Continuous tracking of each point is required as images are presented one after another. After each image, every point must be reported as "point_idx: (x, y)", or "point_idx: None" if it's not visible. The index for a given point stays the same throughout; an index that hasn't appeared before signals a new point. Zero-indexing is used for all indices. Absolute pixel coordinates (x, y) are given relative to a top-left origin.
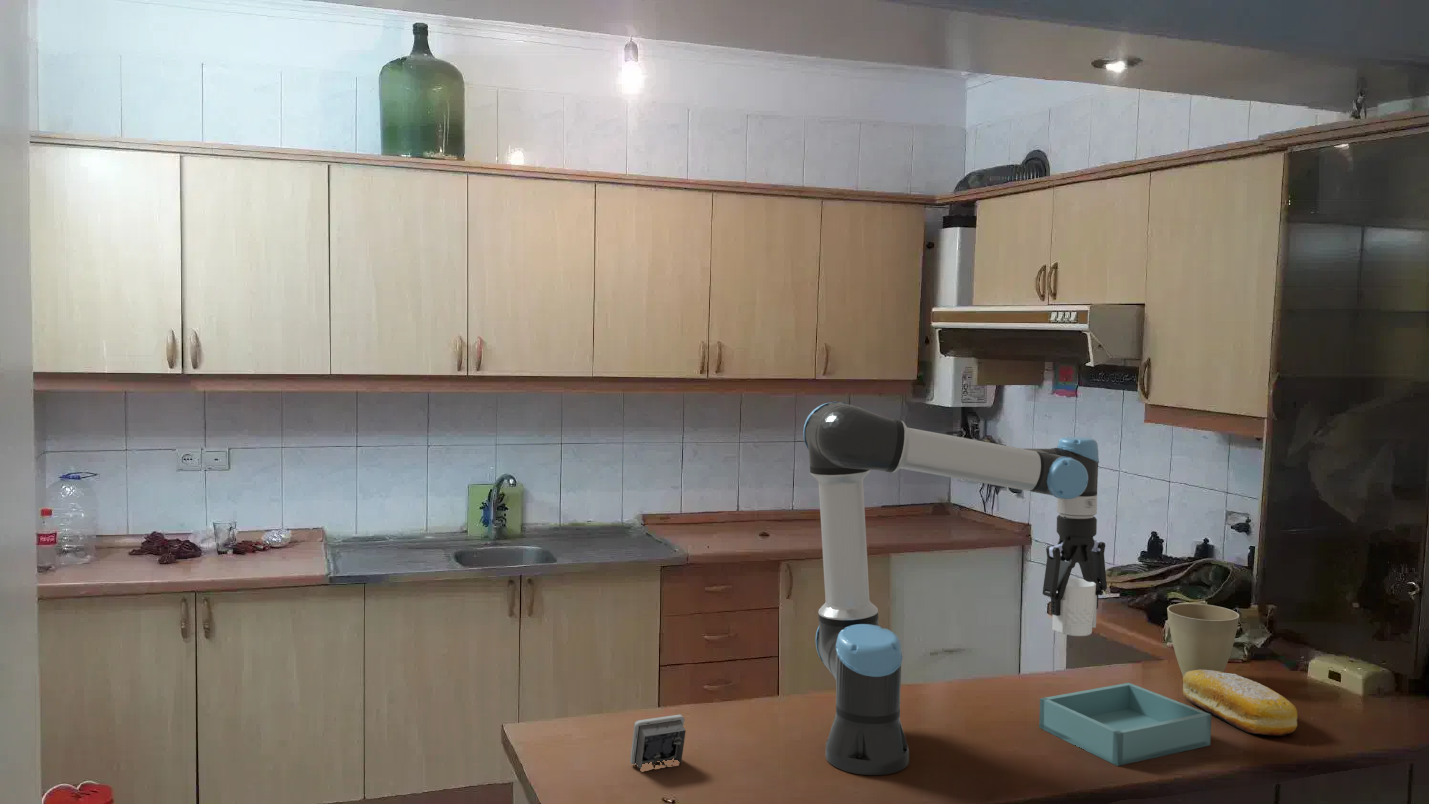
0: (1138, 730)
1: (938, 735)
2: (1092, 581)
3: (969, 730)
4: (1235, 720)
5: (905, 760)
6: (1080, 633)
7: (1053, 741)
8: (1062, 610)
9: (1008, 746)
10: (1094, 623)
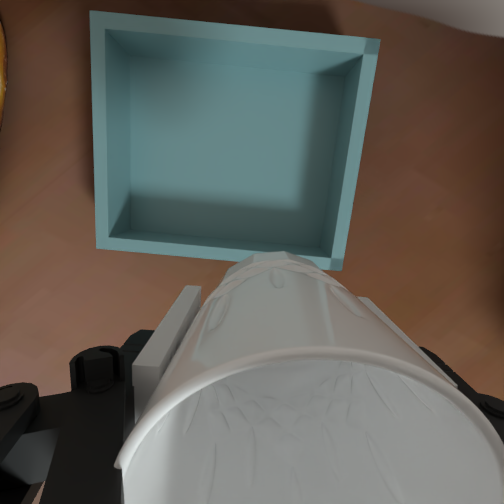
0: (320, 34)
1: (489, 311)
2: (122, 477)
3: (431, 303)
4: (1, 60)
5: None
6: (308, 261)
7: (355, 204)
8: (416, 348)
9: (436, 225)
10: (192, 291)
